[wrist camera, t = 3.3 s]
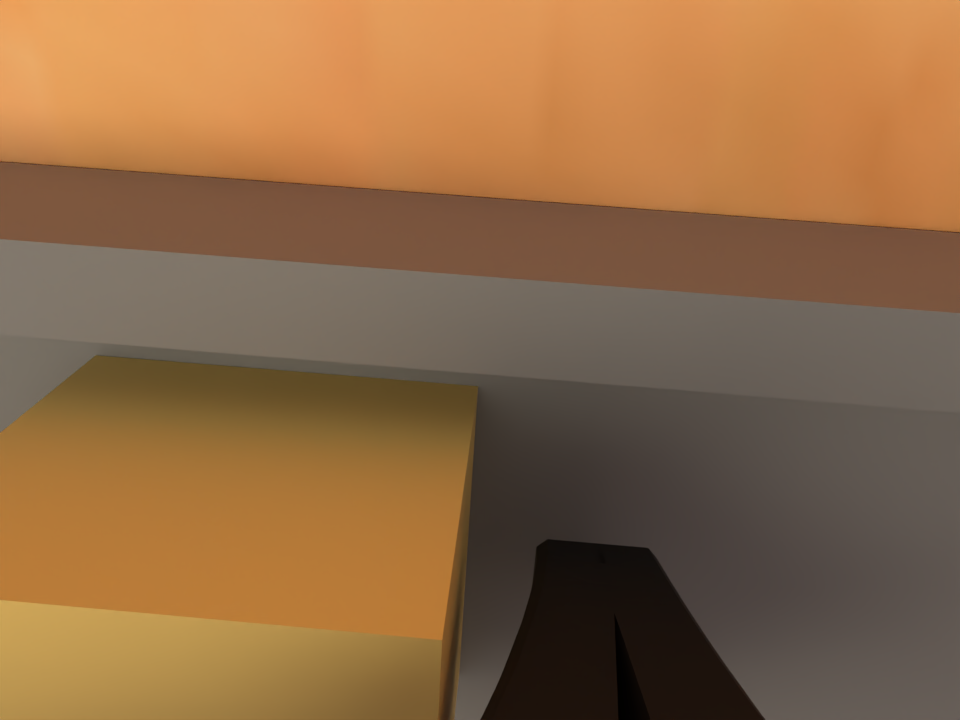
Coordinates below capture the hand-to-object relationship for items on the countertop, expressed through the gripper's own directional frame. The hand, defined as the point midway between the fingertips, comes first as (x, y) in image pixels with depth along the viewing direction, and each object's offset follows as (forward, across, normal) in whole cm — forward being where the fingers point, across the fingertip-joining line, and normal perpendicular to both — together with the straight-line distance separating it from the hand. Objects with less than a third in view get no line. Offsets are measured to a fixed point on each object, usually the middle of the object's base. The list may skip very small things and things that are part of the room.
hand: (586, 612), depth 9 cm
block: (+1, +4, 0) cm, 4 cm away
